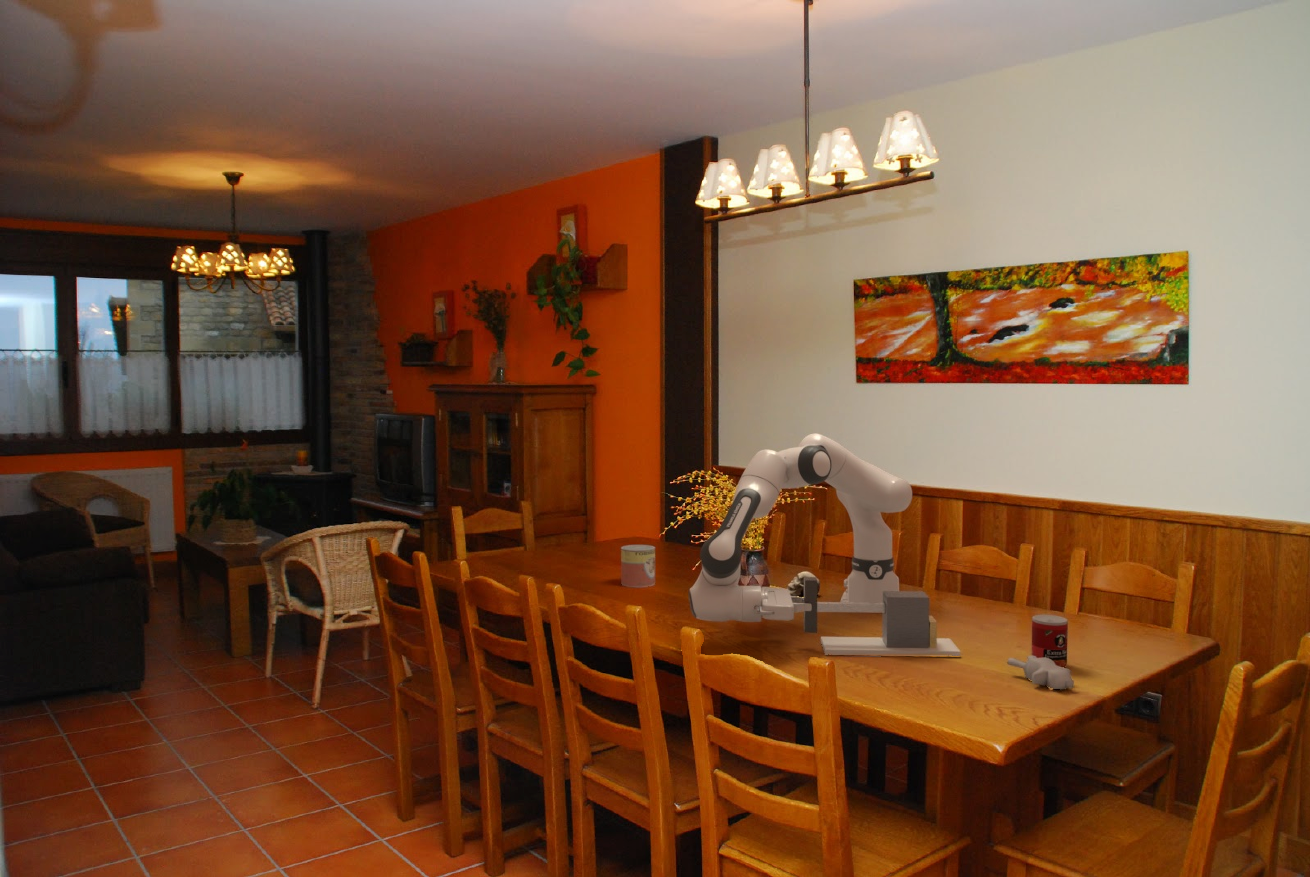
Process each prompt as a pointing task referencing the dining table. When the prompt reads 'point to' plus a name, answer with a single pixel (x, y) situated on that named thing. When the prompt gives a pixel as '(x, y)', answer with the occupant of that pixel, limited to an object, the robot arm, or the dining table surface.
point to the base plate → (882, 647)
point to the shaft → (831, 606)
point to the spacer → (932, 632)
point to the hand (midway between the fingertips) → (810, 604)
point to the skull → (800, 584)
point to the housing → (906, 619)
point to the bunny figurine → (1044, 672)
